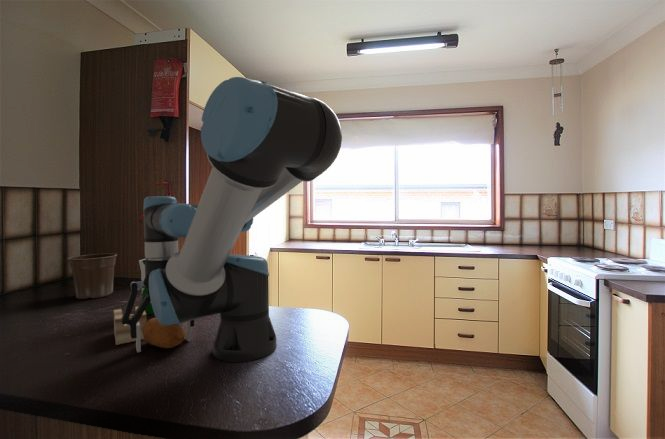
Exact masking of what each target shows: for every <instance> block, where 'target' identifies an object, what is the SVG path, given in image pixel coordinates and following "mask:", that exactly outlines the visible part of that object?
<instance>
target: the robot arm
mask: <svg viewBox="0 0 665 439" xmlns="http://www.w3.org/2000/svg"><path fill="white" fill-rule="evenodd" d="M201 121H202V126H201V127H200V140H201V145H202V147H203V149H204V151H205V153H206V157H207V160H208V162H209V164H210V165H211V167H212V168H211V171H210V173H209V176H208V178H207V181H206V183H205V186H204V188H203V192H202V194H201V197H200V199H199V202H198V203H184V202H183V203H181V202H180V203H179V202H178V200H177V198H176V197H174V196H168V195H167V196H166V195H165V196H161V195H160V196H157V195H156V196H154V195H153V196H150V195H149V196H146V197H144V199H143V206H142V208H143V209H142V214H143V231H144V232H143V234H144V235H143V236H144V238H143V239H144V257H145V259H146V258H148V259H147V260H146V261H145V279H144V281H134V280H133V281H131V282H130V292H129V295H128V299H127V302H126V304H125V307H124V311H123V312H122V314H123V316H122V319H121V321H122V324H123V325H125V324H127V325H130V334H131V338H132V339H133V338H136V341H135V349H136V353H140V352H142V349H141V347H142V346H141V344H142V343H141V342H142V341H141V338H140V323H139V322H138V321H139V319H140V317H141V316H142V314H143V312H144V311H145V309H146V308H147V306H148V304H149V303H150V301H151V304H152V308H153V311H154V314H153V315H154V316H155V317H154V318H156V319H157V321H158V322H159V323H160V324H161V325H164V326H168V325H173V324H178V325H180V324H183V323H184V332H185V338H184V339H185V340H186V342H191V339H192V336H191V328H193V327H195V320H200V319H202V318H207V317H211V316H214V315H219V323H218V325H217V329H216V331H215V334H214V339H213V341H212V342H213V343H212V355H213V357H214V358H216V359H218V360H220V361H223V362H230V363H243V362H249V361H250V362H251V361H256V360H260V359H262V358H265V357H266V356H268V355H270V354H272V353H273V352H275V350H276V348H277V335H276V331H275V329H274V325H273V322H272V320H271V317H270V310H269V308H270V306H269V305H270V300H269V297H270V293H269V292H270V291H269V289H270V288H269V287H270V286H269V283H270V282H269V277H270V272H269V263H268V261H267V259H266V258H264V257H262V256H258V255H257V256H256V255H247V254H233V253H232V254H231V252H232V250H233V248H234V246H235V245H236V243H237V241H238V239H239V236H240V234H241V233H247V232H248V231H249V230H250V229H251V226H252V225H253V223H254V218H255V217H256V216H257V215H259V214H260V213H261V212H263V211H264V210H266V209H267V208H268V207H270V206H271V205H273V203H275V202H276V201H278V200H279V199H281V198H282V197H283V196H285V195H286V194H287V193H289V192H290V191H291V190H293V189H294V188H295V187H297V186H298V185H300V184H301V183H302V182H306V183H308V182H312V181H314V180H315V179H316V178H317V177H319V176H321V175H322V174H323V173H325V171H327V170H328V169H329V168H330V167H331V166H332V165H333V163H334V162H335V161H336V159H337V158H338V155H339V153H340V150H341V147H342V141H343V135H342V127H341V124H340V120H339V118H338V116H337V114H336V113H335V112H334V111H333V109H332V108H331V107H330V106H329V105H328V104H327V103H325V102H324V101H322V100H320V99H318V98H315V97H312V96H306V95H303V94H301V93H297V92H294V91H291V90H288V89H284V88H283V87H282V88H281V87H279V86H275V85H272V84H269V83H268V82H267V81H263V80H259V79H251V78H246V77H243V76H242V77H241V76H233V77H230V78H229V79H225V80H224V81H222V82H220V83H219V84H218V85H217V87H215V88H214V90H212V92H211V94H210V95H209V97H208V99H207V101H206V103H205V106H204V108H203V112H202V117H201ZM180 238H184V241H183V243H182V247H181V249H180V251H179V239H180ZM142 286H145V287H146V288H147V289H148V292H147V293H146V295H145V297H144V299H143V300H142V299H141V302H140V304H139V305H138V306H139V307H138V308H137V310H136V312H134V313H133V314H134V315H133V316H132V318H129V317H130V314H131V313H132V310H133V308H134V304H135V302H136V299H137V295H138V292H140V291H141V290H142Z"/></svg>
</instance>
